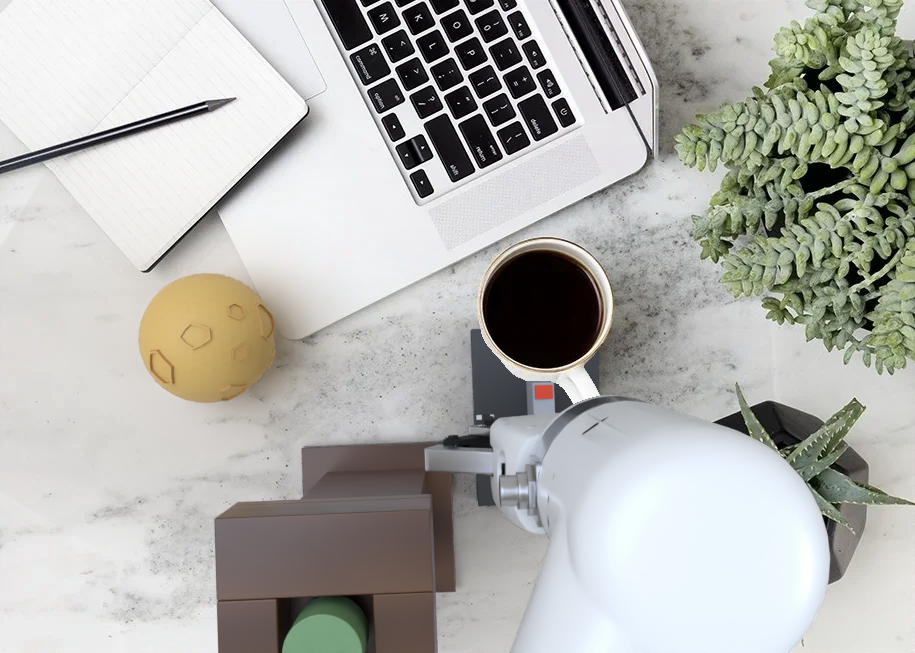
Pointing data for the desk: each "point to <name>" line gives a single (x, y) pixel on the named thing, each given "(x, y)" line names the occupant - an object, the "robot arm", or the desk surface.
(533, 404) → the block
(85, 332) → the desk surface
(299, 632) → the green button
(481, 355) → the gadget
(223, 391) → the stress ball
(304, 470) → the post
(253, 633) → the brown blocky frame
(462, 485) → the desk surface
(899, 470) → the desk surface
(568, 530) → the robot arm
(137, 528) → the desk surface
